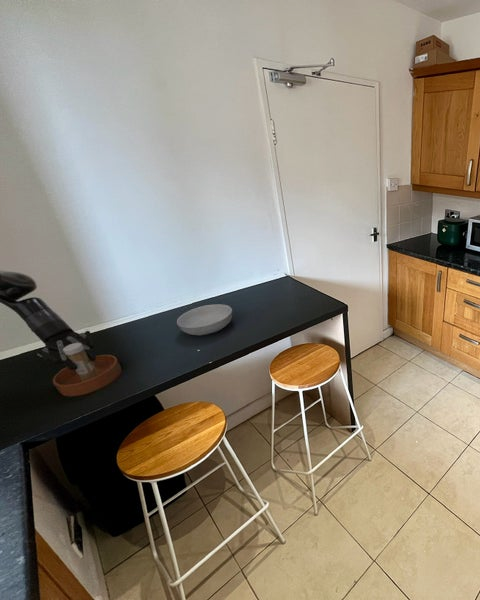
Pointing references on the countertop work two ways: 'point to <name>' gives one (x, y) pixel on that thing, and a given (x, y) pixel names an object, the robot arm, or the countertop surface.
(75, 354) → the sprinkles bottle
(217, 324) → the serving bowl
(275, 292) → the countertop surface
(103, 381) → the pan
